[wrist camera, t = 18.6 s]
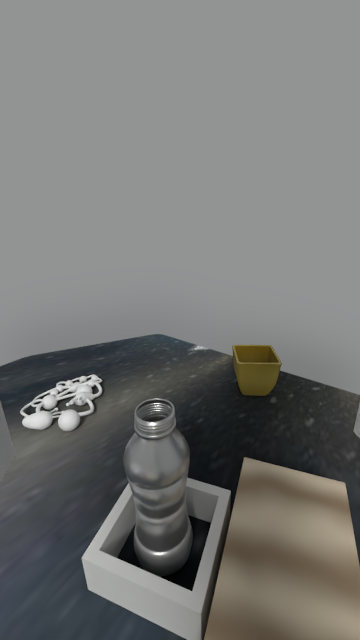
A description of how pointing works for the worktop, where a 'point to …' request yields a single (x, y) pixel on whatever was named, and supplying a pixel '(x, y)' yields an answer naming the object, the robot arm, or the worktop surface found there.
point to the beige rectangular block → (287, 560)
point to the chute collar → (148, 589)
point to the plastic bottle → (159, 488)
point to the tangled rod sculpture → (68, 417)
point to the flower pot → (256, 368)
